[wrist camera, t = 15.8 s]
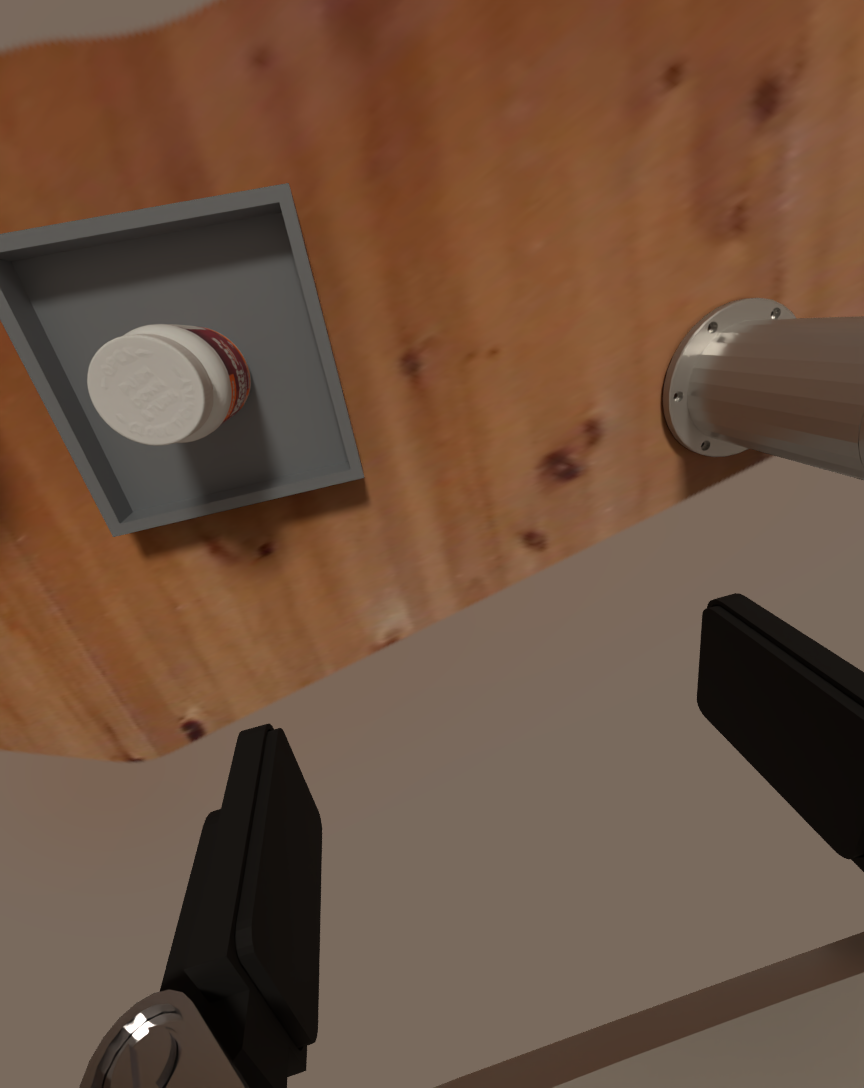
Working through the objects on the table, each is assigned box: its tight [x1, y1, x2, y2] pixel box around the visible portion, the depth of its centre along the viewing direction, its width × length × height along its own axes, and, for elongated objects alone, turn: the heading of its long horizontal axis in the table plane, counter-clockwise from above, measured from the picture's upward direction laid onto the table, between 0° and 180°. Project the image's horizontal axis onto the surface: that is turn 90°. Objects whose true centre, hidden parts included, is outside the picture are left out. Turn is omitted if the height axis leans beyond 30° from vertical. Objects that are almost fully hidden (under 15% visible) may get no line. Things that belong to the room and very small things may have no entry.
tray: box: [0, 183, 364, 537], centre depth 32 cm, size 18×18×3 cm
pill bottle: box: [87, 324, 251, 446], centre depth 28 cm, size 6×6×11 cm
